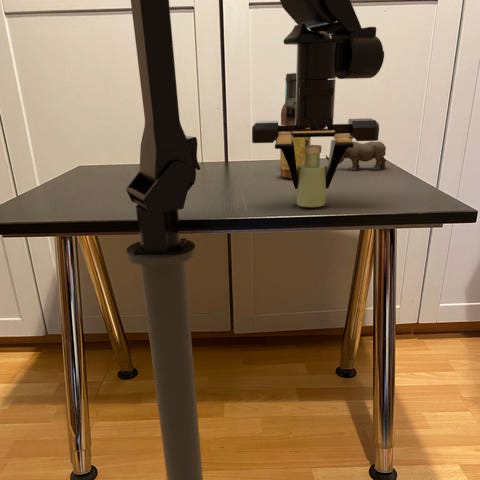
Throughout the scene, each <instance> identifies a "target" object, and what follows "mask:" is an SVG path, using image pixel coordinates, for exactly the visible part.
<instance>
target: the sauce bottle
mask: <svg viewBox="0 0 480 480" xmlns="http://www.w3.org/2000/svg"><path fill="white" fill-rule="evenodd" d="M285 78H286V79H285V84H286V83H287V95H286V97H287V98H296V81H300V80H296V72H289V73H286V74H285ZM280 125H295V124H294V121H286V102H285V101H284V104H283V105H282V108H281V111H280ZM306 129H310V128H306ZM311 138H312V137H293V140H292V141H293V142H294V149H295V159H296V168H297V171H298V166H299V165H303V164H305V158H306V153H304V149H305V146H306V145H312V144H311V141H312V140H311ZM279 151H280V154H279V155H280V157H279V161H280V162H279V165H280V167H279V168H280V177H281V178H283V179H287V180H291V179H292V176H291V173H290V169H289V166H288V163H287V161H286V159H285V156H284V154H283V152H282V150H281V149H279Z"/></svg>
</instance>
